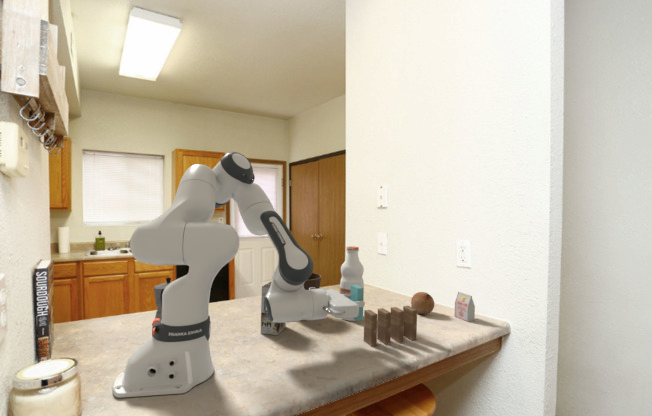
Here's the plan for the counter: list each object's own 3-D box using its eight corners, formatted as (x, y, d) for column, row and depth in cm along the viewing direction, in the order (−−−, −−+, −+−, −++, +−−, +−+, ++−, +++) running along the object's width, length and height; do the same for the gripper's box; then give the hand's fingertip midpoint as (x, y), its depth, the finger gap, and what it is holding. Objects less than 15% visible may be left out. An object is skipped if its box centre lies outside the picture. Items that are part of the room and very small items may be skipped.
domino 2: (385, 344, 107) (385, 313, 107) (377, 338, 111) (377, 308, 111) (390, 343, 107) (391, 312, 107) (382, 338, 112) (383, 308, 112)
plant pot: (328, 316, 134) (329, 276, 134) (299, 324, 123) (300, 281, 123) (304, 307, 144) (304, 270, 144) (275, 315, 134) (276, 275, 134)
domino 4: (411, 340, 110) (411, 310, 110) (402, 335, 115) (403, 306, 115) (416, 340, 111) (417, 309, 111) (407, 334, 115) (408, 305, 115)
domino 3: (398, 342, 108) (398, 311, 108) (390, 337, 113) (390, 307, 113) (403, 341, 109) (404, 311, 109) (395, 336, 114) (395, 307, 114)
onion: (430, 323, 137) (438, 304, 133) (407, 315, 138) (415, 296, 134) (429, 308, 145) (437, 290, 141) (408, 301, 147) (415, 283, 143)
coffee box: (277, 335, 112) (278, 287, 112) (259, 333, 114) (260, 286, 114) (286, 326, 121) (287, 281, 121) (269, 324, 123) (270, 280, 123)
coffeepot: (157, 323, 122) (158, 274, 122) (185, 321, 124) (186, 273, 124) (145, 339, 107) (146, 283, 107) (177, 337, 109) (178, 282, 109)
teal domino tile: (356, 320, 103) (357, 288, 103) (350, 315, 108) (350, 285, 108) (362, 320, 104) (363, 288, 104) (355, 315, 109) (356, 284, 109)
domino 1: (371, 346, 105) (371, 314, 105) (363, 340, 109) (364, 310, 109) (376, 345, 105) (377, 314, 105) (369, 339, 110) (369, 309, 110)
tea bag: (461, 315, 138) (462, 291, 138) (474, 320, 131) (475, 295, 131) (454, 316, 136) (455, 292, 136) (467, 322, 130) (467, 296, 130)
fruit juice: (340, 313, 138) (341, 245, 138) (362, 314, 137) (364, 246, 137) (338, 320, 128) (340, 248, 128) (363, 322, 127) (364, 248, 128)
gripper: (331, 303, 92) (375, 299, 97) (308, 286, 111) (346, 283, 116) (330, 326, 92) (374, 320, 97) (307, 305, 111) (345, 301, 116)
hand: (358, 300), depth 106 cm, fingers closed on teal domino tile, 5 cm apart
